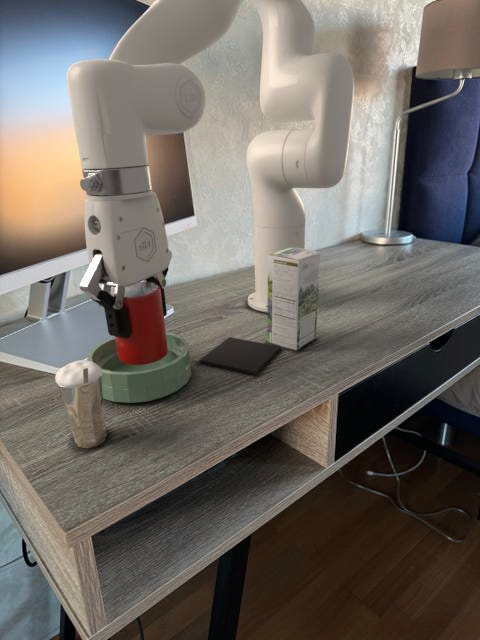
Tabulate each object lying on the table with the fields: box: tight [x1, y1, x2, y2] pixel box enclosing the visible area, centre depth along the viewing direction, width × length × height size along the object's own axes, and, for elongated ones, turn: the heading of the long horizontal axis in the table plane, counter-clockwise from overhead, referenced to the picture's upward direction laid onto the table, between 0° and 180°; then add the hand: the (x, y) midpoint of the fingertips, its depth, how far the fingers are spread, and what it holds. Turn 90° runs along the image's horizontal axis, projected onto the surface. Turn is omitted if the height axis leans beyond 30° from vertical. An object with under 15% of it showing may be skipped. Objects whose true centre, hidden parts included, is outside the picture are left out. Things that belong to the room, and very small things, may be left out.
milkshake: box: [54, 359, 107, 449], centre depth 47 cm, size 4×5×10 cm
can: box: [110, 281, 168, 365], centre depth 58 cm, size 7×7×9 cm
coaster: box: [199, 337, 282, 376], centre depth 67 cm, size 9×9×1 cm
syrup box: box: [266, 248, 321, 351], centre depth 68 cm, size 6×6×14 cm
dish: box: [86, 331, 192, 404], centre depth 60 cm, size 13×13×4 cm
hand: (139, 324), depth 58 cm, fingers closed on can, 6 cm apart
